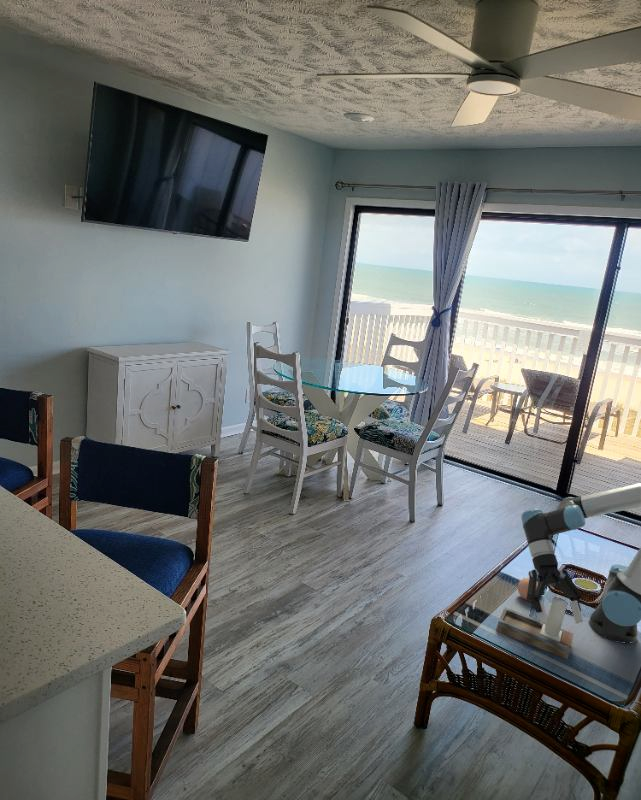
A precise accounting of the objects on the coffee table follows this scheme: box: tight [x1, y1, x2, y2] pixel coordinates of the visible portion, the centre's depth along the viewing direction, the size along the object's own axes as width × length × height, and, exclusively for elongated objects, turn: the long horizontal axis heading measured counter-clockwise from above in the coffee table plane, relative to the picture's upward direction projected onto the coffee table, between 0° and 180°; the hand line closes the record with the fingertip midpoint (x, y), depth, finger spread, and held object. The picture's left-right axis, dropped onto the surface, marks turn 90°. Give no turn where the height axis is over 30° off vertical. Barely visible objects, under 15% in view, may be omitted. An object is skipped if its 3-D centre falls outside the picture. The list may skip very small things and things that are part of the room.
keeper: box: [540, 596, 568, 643], centre depth 193 cm, size 6×7×12 cm
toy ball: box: [517, 577, 539, 601], centre depth 222 cm, size 8×8×8 cm
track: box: [496, 607, 574, 660], centre depth 197 cm, size 22×11×4 cm, turn 63°
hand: (562, 623), depth 191 cm, fingers open, 13 cm apart
